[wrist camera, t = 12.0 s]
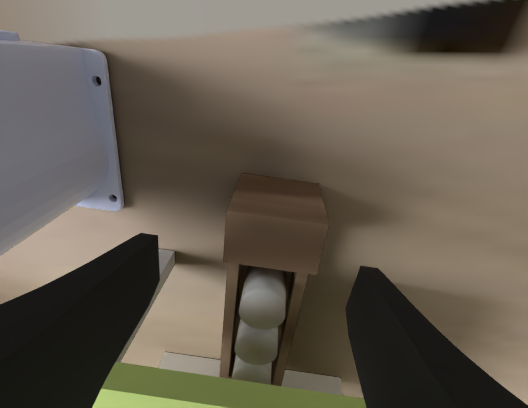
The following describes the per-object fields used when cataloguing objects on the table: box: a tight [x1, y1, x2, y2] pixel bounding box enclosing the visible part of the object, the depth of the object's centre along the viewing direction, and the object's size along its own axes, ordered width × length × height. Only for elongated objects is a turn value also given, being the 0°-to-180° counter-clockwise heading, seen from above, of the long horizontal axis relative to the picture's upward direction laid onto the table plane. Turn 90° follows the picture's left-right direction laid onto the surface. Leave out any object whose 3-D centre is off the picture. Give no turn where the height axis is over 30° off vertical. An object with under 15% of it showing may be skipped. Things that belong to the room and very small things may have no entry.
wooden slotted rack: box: [219, 173, 329, 386], centre depth 19 cm, size 17×5×5 cm, turn 173°
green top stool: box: [92, 249, 366, 408], centre depth 19 cm, size 12×16×10 cm
